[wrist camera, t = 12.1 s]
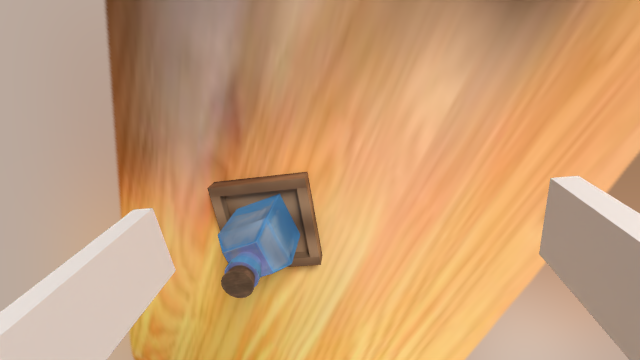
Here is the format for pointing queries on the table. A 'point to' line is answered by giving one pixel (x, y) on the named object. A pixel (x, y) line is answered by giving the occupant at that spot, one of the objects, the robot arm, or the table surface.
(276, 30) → the table surface
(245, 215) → the perfume bottle
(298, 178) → the walnut tray
